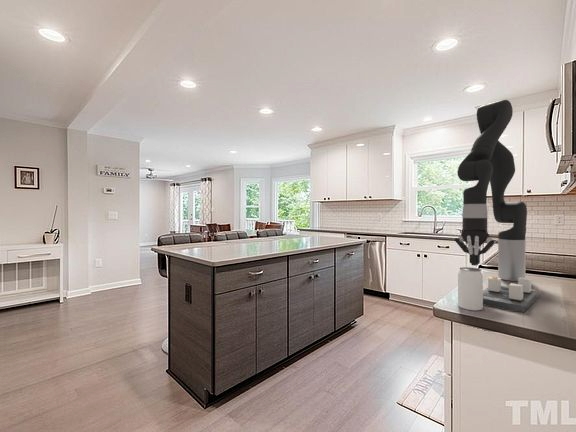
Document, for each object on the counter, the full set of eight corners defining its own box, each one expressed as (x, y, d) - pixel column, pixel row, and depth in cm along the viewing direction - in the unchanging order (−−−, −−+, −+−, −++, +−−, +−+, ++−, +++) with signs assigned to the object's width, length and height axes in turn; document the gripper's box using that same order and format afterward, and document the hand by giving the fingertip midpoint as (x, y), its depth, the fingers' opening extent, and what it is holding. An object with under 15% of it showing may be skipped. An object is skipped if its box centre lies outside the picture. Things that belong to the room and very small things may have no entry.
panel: (494, 288, 110) (494, 283, 110) (539, 296, 100) (539, 289, 100) (473, 302, 94) (473, 295, 94) (523, 313, 84) (523, 305, 84)
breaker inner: (520, 289, 100) (520, 277, 100) (531, 290, 98) (531, 278, 98) (517, 290, 98) (518, 278, 98) (529, 292, 96) (529, 280, 96)
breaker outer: (511, 296, 92) (511, 283, 92) (523, 298, 90) (523, 284, 90) (508, 298, 91) (508, 284, 90) (520, 300, 88) (521, 286, 88)
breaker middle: (490, 288, 102) (490, 275, 102) (501, 290, 99) (501, 277, 99) (488, 290, 100) (488, 277, 100) (498, 291, 98) (498, 278, 97)
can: (486, 311, 86) (486, 271, 85) (462, 310, 87) (462, 270, 87) (477, 304, 92) (477, 267, 92) (454, 303, 93) (454, 266, 93)
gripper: (499, 216, 101) (499, 266, 101) (458, 216, 111) (458, 261, 111) (493, 217, 96) (493, 269, 96) (450, 216, 106) (450, 264, 106)
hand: (474, 265), depth 104 cm, fingers closed
